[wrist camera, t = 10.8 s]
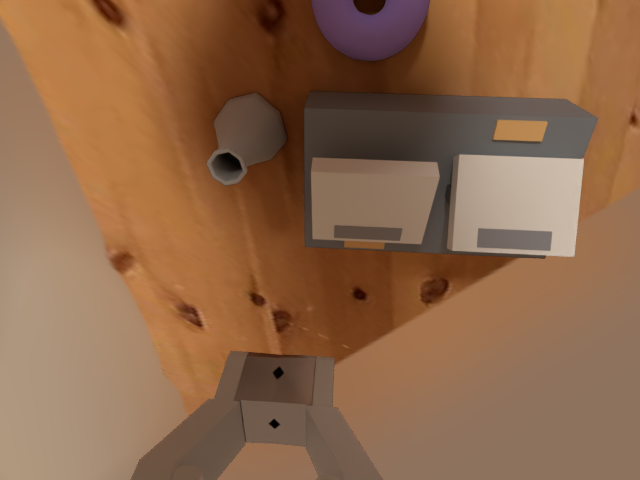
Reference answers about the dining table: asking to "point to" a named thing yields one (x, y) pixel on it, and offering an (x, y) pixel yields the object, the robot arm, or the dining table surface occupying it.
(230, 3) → the dining table surface
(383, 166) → the switch
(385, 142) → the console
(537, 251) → the switch
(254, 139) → the flask
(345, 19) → the donut
